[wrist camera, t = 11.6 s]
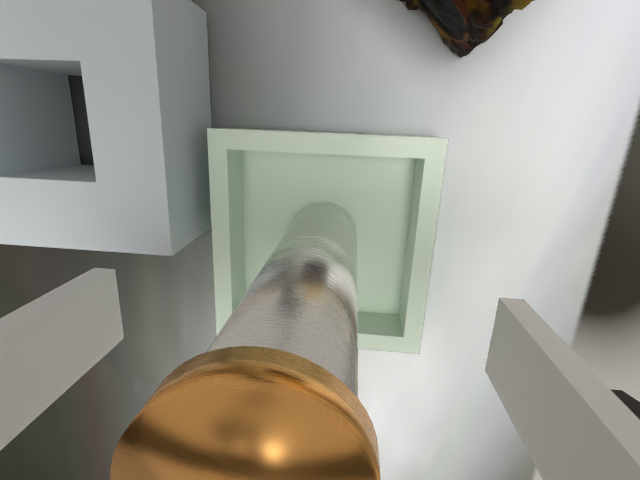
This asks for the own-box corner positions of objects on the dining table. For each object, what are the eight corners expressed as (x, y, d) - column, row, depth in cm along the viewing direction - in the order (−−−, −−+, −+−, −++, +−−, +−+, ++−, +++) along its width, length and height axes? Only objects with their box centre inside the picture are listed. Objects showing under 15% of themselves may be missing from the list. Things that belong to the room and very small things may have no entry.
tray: (228, 128, 22) (206, 128, 19) (434, 136, 21) (448, 138, 18) (233, 310, 26) (216, 336, 23) (411, 325, 25) (419, 354, 22)
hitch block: (2, 9, 21) (-126, -34, 16) (206, 12, 21) (149, -32, 15) (40, 213, 25) (-54, 239, 19) (215, 224, 24) (171, 255, 18)
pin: (285, 193, 22) (92, 375, 6) (366, 197, 22) (395, 405, 6) (284, 268, 24) (126, 582, 7) (360, 273, 23) (370, 616, 7)
